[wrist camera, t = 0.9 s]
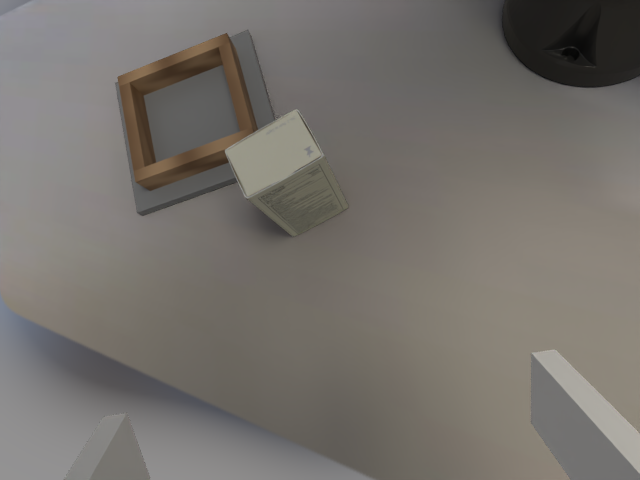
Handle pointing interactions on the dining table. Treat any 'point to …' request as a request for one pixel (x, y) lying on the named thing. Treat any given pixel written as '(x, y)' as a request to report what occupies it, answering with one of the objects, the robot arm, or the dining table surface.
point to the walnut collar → (166, 75)
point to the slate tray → (197, 125)
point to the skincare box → (287, 174)
